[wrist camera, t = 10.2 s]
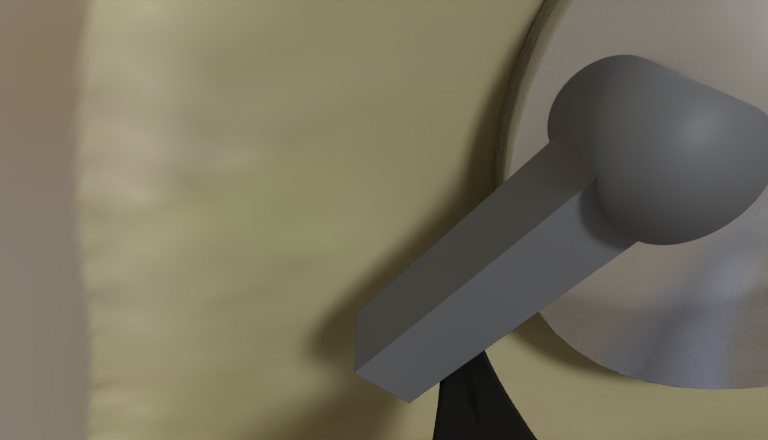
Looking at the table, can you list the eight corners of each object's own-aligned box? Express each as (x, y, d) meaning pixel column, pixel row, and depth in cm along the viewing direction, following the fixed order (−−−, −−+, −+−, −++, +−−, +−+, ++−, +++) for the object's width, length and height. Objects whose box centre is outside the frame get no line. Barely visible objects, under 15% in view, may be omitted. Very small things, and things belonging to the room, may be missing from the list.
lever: (625, 26, 8) (732, 61, 6) (692, 110, 9) (807, 172, 7) (345, 288, 11) (337, 381, 9) (414, 331, 12) (423, 426, 10)
